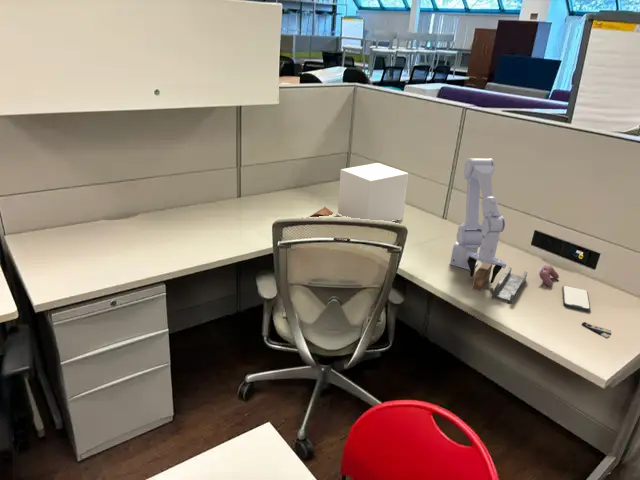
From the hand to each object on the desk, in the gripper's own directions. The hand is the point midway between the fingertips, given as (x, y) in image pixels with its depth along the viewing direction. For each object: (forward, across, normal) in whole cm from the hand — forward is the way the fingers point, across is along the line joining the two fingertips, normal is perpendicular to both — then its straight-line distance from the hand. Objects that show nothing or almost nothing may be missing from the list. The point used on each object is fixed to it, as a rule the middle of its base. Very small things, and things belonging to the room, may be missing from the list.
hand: (481, 279), depth 187 cm
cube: (+3, -66, +34) cm, 74 cm away
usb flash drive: (+3, +41, -7) cm, 42 cm away
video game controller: (+2, +21, +19) cm, 28 cm away
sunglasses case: (+3, -84, +17) cm, 85 cm away
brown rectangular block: (+2, 0, 0) cm, 2 cm away
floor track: (+2, +10, +3) cm, 11 cm away
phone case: (+3, +32, +10) cm, 34 cm away
